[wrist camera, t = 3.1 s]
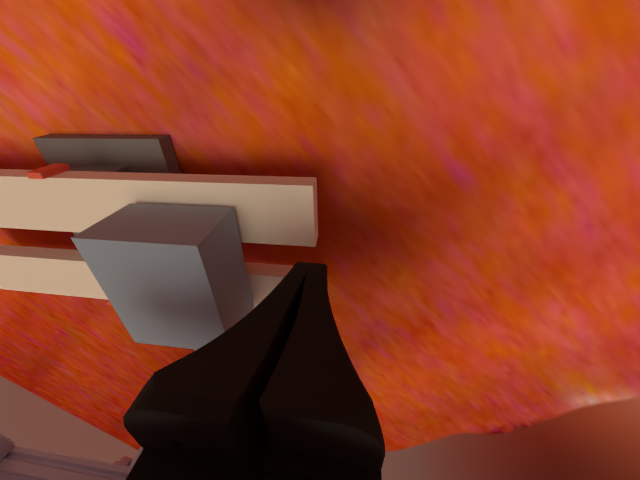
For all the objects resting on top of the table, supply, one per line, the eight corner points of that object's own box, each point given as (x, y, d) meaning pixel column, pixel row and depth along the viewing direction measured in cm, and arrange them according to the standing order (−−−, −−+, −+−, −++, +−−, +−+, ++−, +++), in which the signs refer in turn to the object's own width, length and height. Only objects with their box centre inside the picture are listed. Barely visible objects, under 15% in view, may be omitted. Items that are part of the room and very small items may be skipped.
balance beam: (326, 136, 14) (310, 162, 10) (327, 280, 20) (318, 334, 16) (-69, 133, 18) (-193, 153, 14) (25, 257, 23) (-45, 296, 19)
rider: (240, 200, 12) (196, 246, 9) (259, 295, 16) (232, 353, 12) (142, 196, 13) (70, 237, 10) (179, 288, 16) (134, 342, 13)
